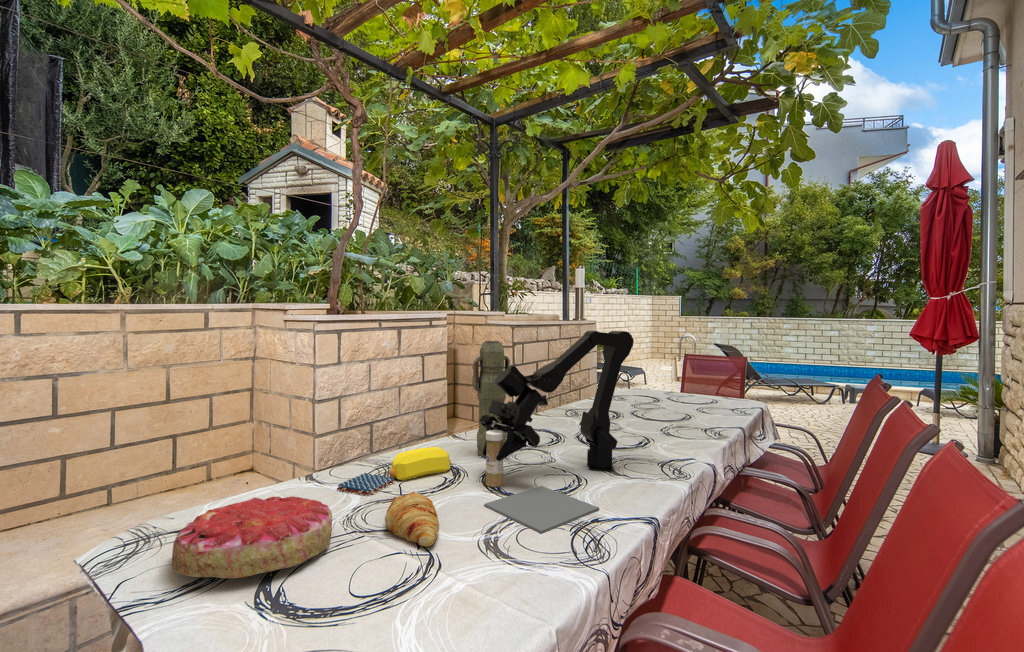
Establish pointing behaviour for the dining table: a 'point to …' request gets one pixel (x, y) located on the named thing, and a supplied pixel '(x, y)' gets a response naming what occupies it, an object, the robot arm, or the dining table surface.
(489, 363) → the thermos
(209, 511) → the cake
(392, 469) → the yellow elongated block
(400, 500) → the croissant
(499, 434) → the sprinkles bottle
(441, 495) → the dining table surface
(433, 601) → the dining table surface
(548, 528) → the mat
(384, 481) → the woven mat
